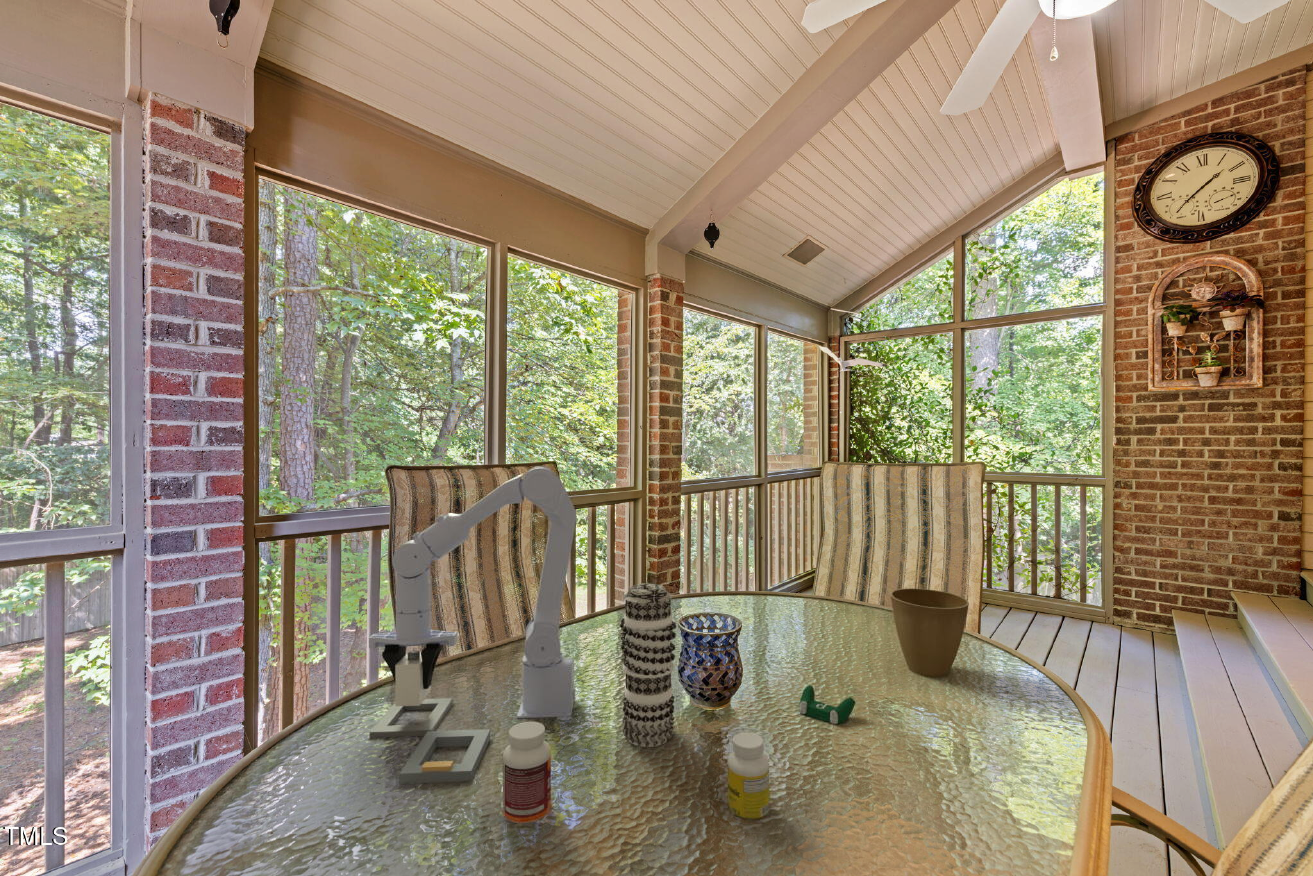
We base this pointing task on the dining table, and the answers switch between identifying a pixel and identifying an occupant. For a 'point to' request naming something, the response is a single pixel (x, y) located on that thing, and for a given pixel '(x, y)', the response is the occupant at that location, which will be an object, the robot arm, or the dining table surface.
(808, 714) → the gaming controller
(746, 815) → the supplement bottle
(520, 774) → the pill bottle
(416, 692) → the plug
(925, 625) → the plant pot
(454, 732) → the port
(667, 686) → the decorative candle
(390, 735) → the square frame plate
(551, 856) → the dining table surface
